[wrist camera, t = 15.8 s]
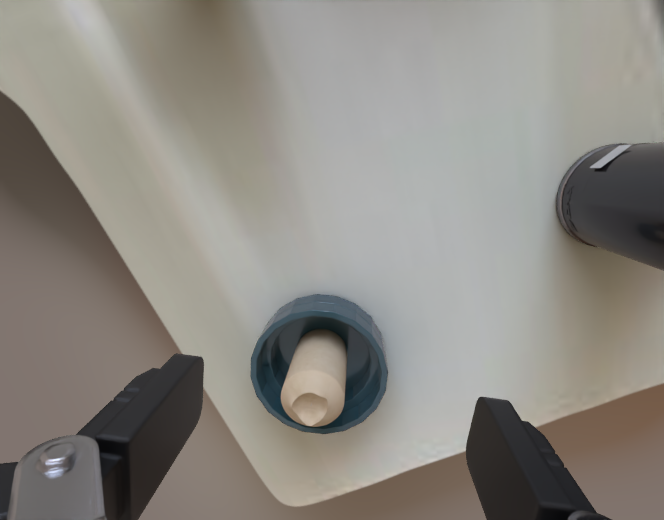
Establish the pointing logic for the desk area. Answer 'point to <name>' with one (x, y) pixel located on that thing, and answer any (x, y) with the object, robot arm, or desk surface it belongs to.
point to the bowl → (362, 357)
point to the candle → (316, 379)
